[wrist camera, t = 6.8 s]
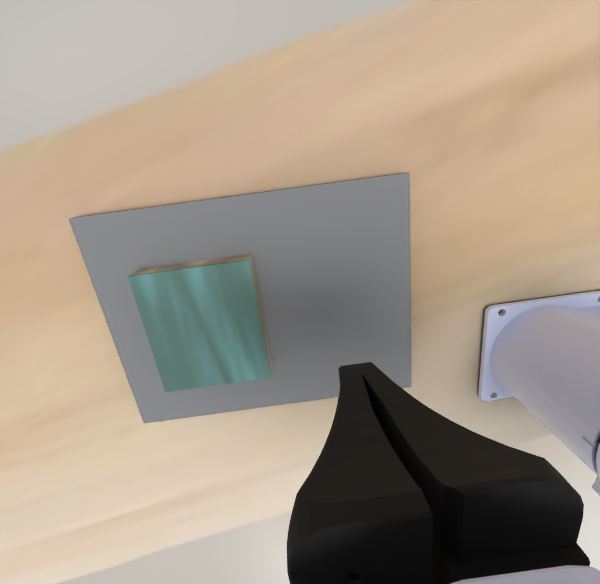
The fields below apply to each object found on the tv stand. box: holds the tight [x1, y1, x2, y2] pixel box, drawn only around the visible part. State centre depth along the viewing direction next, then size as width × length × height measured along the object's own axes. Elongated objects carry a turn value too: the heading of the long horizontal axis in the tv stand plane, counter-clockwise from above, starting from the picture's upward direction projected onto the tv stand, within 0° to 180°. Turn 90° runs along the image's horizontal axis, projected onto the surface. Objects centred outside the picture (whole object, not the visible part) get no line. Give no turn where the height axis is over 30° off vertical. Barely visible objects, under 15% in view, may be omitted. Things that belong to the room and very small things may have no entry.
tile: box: [128, 254, 272, 392], centre depth 20 cm, size 2×8×7 cm
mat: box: [69, 173, 411, 423], centre depth 21 cm, size 20×15×1 cm
